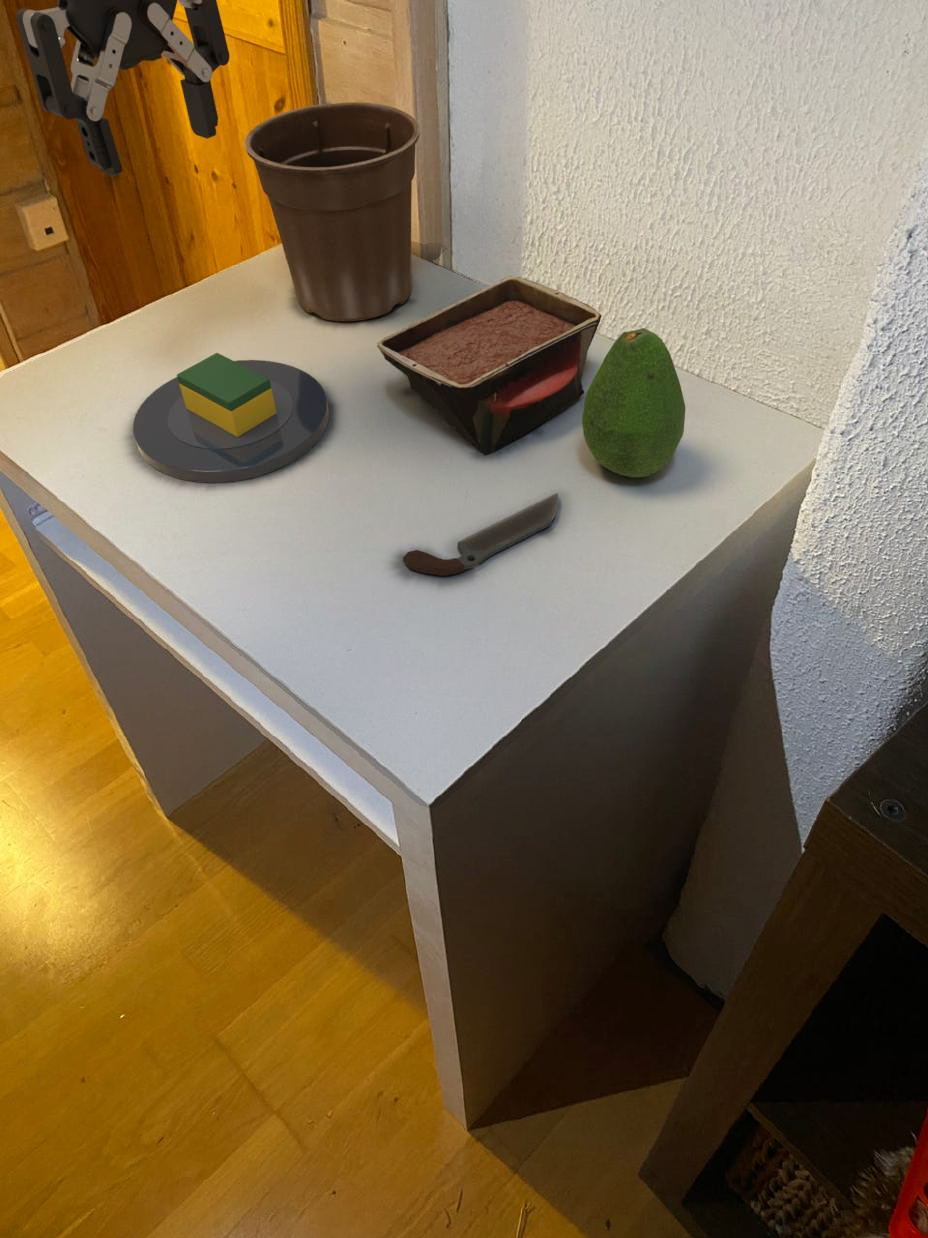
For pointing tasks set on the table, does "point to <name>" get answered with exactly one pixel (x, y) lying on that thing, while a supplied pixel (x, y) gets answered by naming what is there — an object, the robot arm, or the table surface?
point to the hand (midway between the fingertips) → (159, 153)
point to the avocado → (634, 406)
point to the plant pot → (341, 203)
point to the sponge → (227, 394)
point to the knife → (488, 540)
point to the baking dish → (498, 359)
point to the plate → (218, 455)
